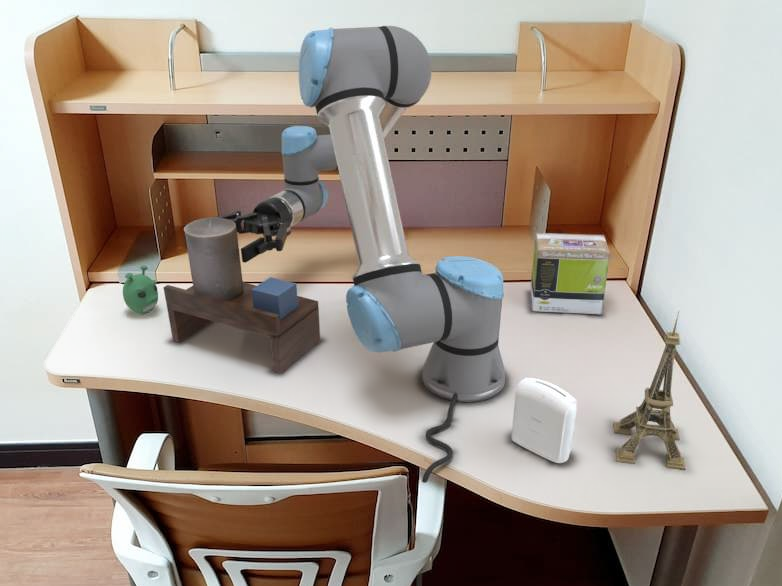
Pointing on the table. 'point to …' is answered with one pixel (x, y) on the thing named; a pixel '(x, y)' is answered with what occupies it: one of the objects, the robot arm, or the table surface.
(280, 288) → the slate box
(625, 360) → the table surface
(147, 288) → the alien toy
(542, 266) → the tea box
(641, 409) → the eiffel tower
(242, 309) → the shelf
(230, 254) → the pillar candle
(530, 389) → the photo printer
